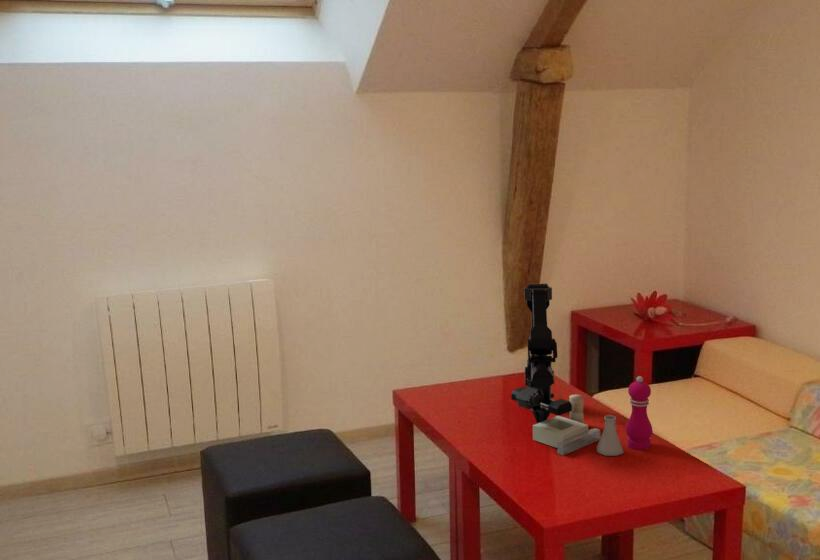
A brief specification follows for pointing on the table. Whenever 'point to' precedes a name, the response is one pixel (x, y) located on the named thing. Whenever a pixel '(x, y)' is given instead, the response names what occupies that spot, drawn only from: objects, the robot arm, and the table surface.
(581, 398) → the dowel
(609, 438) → the flask
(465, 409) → the table surface
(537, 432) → the block
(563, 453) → the bar
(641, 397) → the pepper mill
